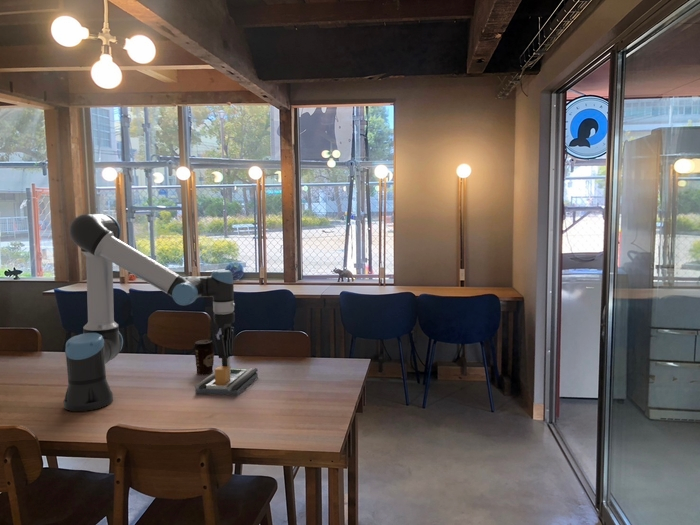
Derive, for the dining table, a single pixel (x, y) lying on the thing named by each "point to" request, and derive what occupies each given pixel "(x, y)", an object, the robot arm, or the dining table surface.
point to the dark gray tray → (234, 384)
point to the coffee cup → (204, 356)
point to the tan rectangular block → (222, 375)
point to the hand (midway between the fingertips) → (226, 374)
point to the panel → (227, 384)
